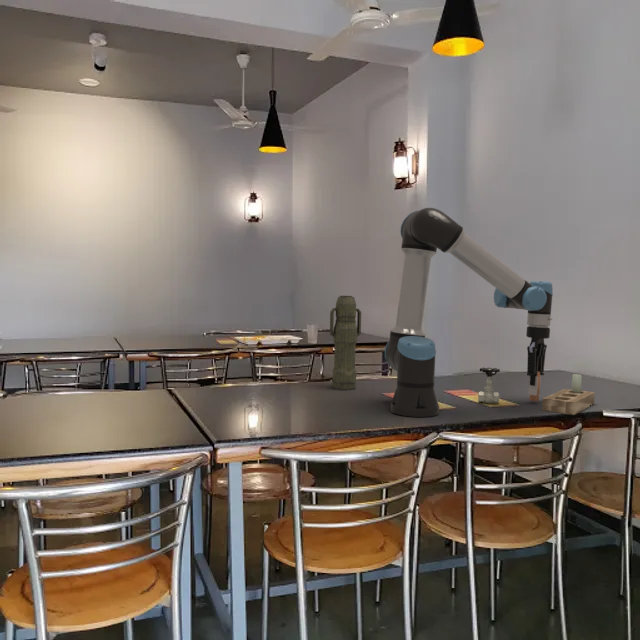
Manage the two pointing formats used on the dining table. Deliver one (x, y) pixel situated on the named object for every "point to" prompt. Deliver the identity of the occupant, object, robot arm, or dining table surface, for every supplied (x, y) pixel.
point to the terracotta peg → (536, 397)
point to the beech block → (568, 401)
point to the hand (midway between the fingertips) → (534, 394)
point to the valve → (489, 387)
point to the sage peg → (576, 383)
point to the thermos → (345, 342)
